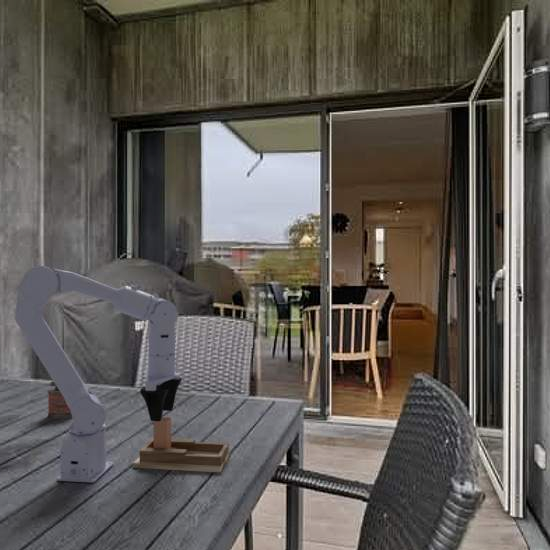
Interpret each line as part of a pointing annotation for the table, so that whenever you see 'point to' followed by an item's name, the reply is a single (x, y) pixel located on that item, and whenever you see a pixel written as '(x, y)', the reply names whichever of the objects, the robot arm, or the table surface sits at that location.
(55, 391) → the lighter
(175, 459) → the keyhole board
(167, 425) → the key peg
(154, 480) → the table surface
